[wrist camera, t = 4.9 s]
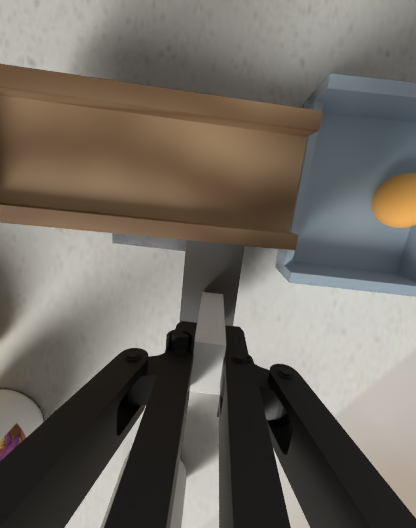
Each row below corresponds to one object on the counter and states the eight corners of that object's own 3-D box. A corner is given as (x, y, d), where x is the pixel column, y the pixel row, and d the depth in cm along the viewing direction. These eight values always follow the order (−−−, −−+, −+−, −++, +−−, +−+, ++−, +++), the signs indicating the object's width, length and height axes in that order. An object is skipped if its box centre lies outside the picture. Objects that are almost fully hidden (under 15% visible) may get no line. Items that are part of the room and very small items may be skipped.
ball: (360, 199, 18) (430, 203, 15) (382, 162, 19) (452, 159, 16) (365, 233, 21) (425, 242, 18) (383, 199, 22) (444, 202, 19)
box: (397, 280, 23) (491, 321, 15) (275, 267, 23) (305, 300, 15) (448, 117, 19) (602, 61, 12) (304, 102, 20) (363, 36, 12)
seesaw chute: (264, 339, 20) (276, 363, 17) (4, 323, 18) (-30, 346, 16) (303, 124, 16) (327, 107, 13) (-22, 78, 15) (-75, 48, 12)
